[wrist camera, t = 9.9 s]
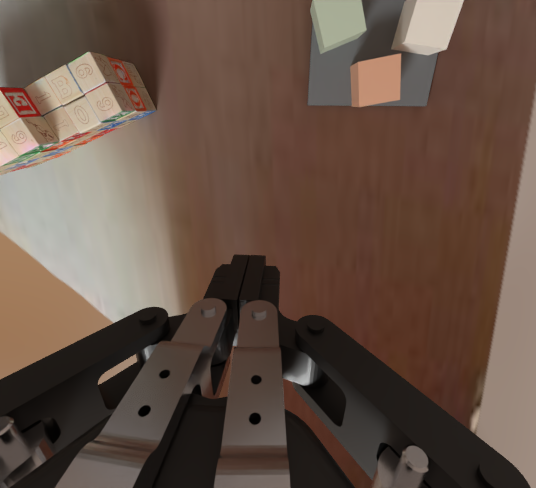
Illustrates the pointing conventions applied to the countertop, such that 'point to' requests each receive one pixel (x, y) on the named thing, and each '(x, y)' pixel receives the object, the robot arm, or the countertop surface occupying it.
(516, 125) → the countertop surface
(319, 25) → the sage cube
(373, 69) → the terracotta cube
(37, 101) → the stack of blocks
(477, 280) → the countertop surface
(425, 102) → the mat
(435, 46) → the cream cube
